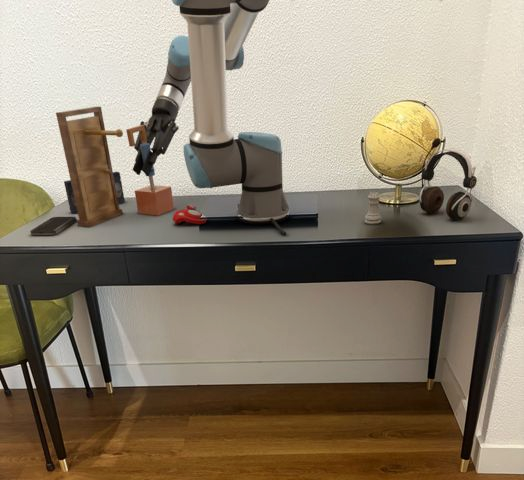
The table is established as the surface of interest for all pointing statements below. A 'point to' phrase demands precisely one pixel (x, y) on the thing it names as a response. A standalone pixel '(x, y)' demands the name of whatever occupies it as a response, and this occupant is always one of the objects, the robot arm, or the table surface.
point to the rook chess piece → (373, 209)
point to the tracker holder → (188, 215)
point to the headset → (434, 195)
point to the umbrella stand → (154, 200)
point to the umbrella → (142, 147)
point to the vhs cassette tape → (72, 200)
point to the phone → (53, 226)
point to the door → (89, 165)
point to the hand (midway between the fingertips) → (140, 172)
